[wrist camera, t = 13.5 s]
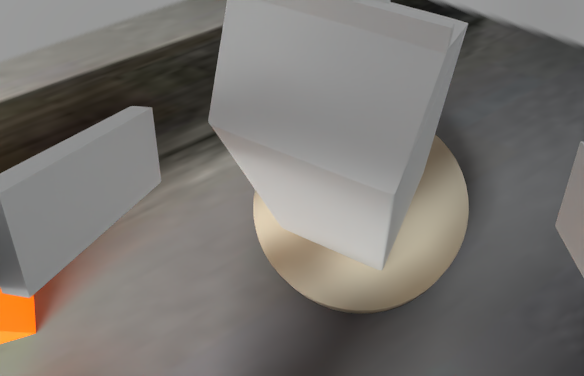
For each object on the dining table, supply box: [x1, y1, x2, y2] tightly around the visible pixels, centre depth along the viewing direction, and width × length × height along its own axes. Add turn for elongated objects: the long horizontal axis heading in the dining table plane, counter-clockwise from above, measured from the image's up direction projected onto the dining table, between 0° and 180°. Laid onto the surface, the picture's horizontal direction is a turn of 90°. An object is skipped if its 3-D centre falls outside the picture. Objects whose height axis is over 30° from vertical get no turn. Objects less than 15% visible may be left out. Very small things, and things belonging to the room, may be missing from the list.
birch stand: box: [253, 134, 469, 314], centre depth 32 cm, size 14×14×3 cm
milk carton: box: [208, 0, 468, 270], centre depth 22 cm, size 7×7×19 cm
